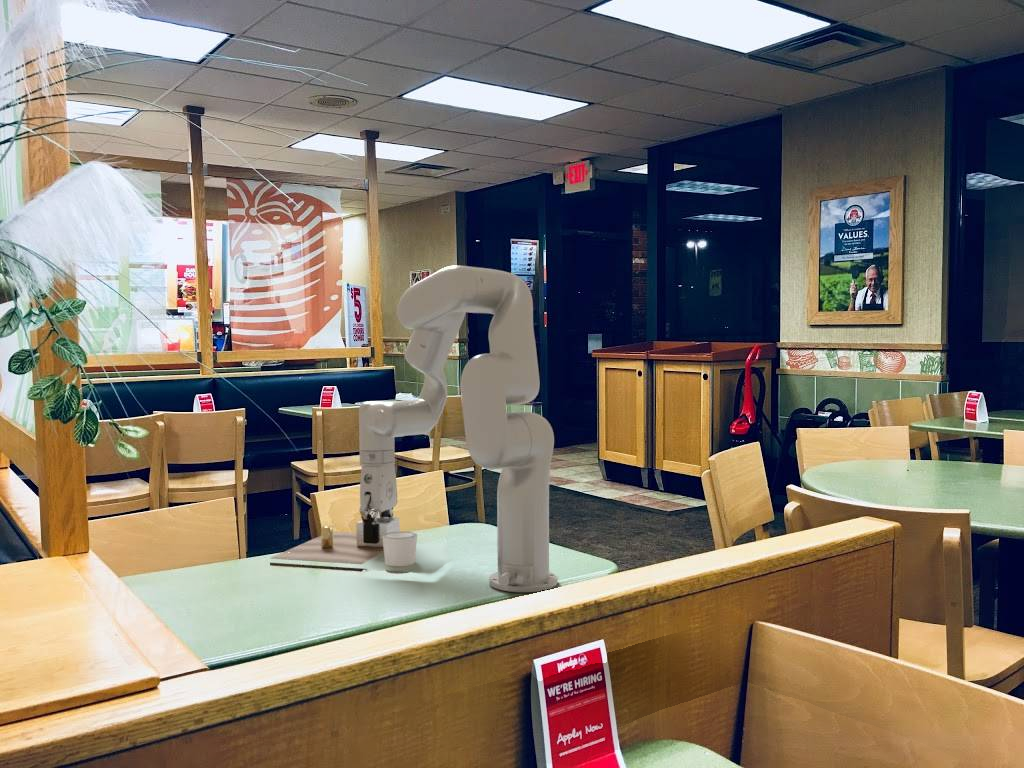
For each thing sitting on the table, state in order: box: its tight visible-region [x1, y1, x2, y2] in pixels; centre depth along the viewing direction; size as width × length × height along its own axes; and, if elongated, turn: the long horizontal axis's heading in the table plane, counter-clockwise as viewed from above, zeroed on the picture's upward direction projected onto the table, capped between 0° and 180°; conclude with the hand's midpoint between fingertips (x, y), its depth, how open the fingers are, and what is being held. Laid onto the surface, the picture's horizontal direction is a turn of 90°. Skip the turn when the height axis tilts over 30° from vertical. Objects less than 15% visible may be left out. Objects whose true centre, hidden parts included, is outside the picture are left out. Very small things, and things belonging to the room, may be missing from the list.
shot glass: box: [382, 531, 418, 575], centre depth 156 cm, size 7×7×7 cm
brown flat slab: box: [269, 531, 384, 572], centre depth 170 cm, size 26×20×2 cm
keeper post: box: [320, 525, 334, 549], centre depth 169 cm, size 2×2×4 cm
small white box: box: [355, 516, 401, 547], centre depth 172 cm, size 7×7×5 cm
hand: (378, 538), depth 172 cm, fingers closed on small white box, 7 cm apart
